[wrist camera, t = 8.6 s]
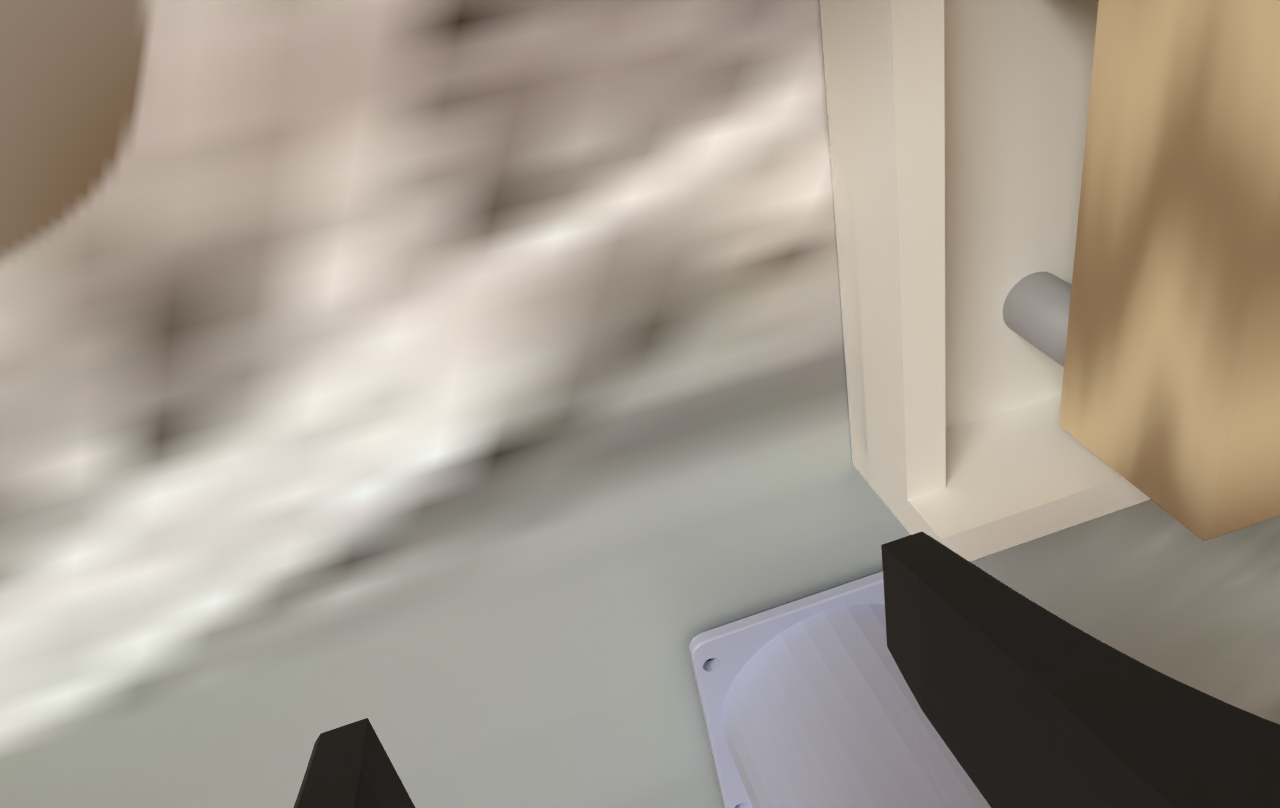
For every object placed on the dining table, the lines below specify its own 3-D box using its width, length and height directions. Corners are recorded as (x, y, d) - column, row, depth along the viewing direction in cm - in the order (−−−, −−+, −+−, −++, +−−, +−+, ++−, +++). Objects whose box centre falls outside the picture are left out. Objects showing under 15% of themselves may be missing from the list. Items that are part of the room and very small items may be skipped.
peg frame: (1208, 349, 26) (1350, 430, 23) (852, 464, 25) (940, 571, 21) (1335, -366, 18) (1599, -427, 14) (801, -250, 16) (935, -283, 13)
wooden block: (1204, 378, 23) (1375, 482, 19) (1058, 425, 22) (1202, 540, 18) (1317, -203, 16) (1611, -222, 12) (1113, -158, 16) (1355, -163, 12)
